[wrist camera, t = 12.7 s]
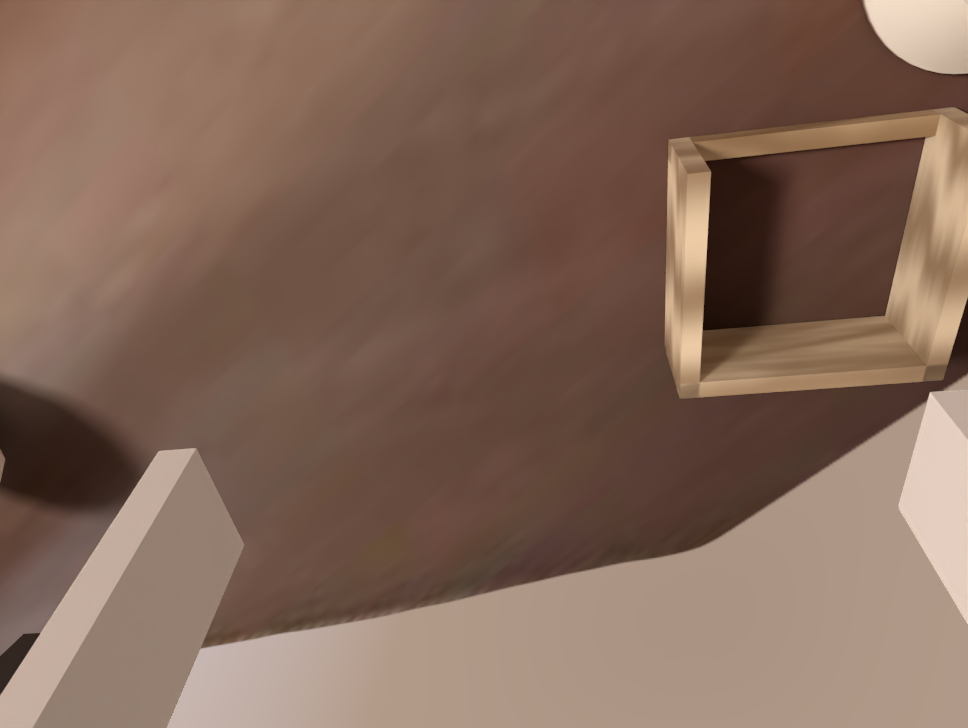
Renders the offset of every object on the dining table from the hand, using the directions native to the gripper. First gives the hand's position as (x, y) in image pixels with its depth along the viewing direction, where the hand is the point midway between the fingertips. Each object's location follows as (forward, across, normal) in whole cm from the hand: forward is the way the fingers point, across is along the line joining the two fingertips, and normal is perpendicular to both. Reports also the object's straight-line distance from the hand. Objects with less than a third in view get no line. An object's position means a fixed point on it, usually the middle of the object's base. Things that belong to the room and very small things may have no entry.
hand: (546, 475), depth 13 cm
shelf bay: (+33, +16, -12) cm, 38 cm away
